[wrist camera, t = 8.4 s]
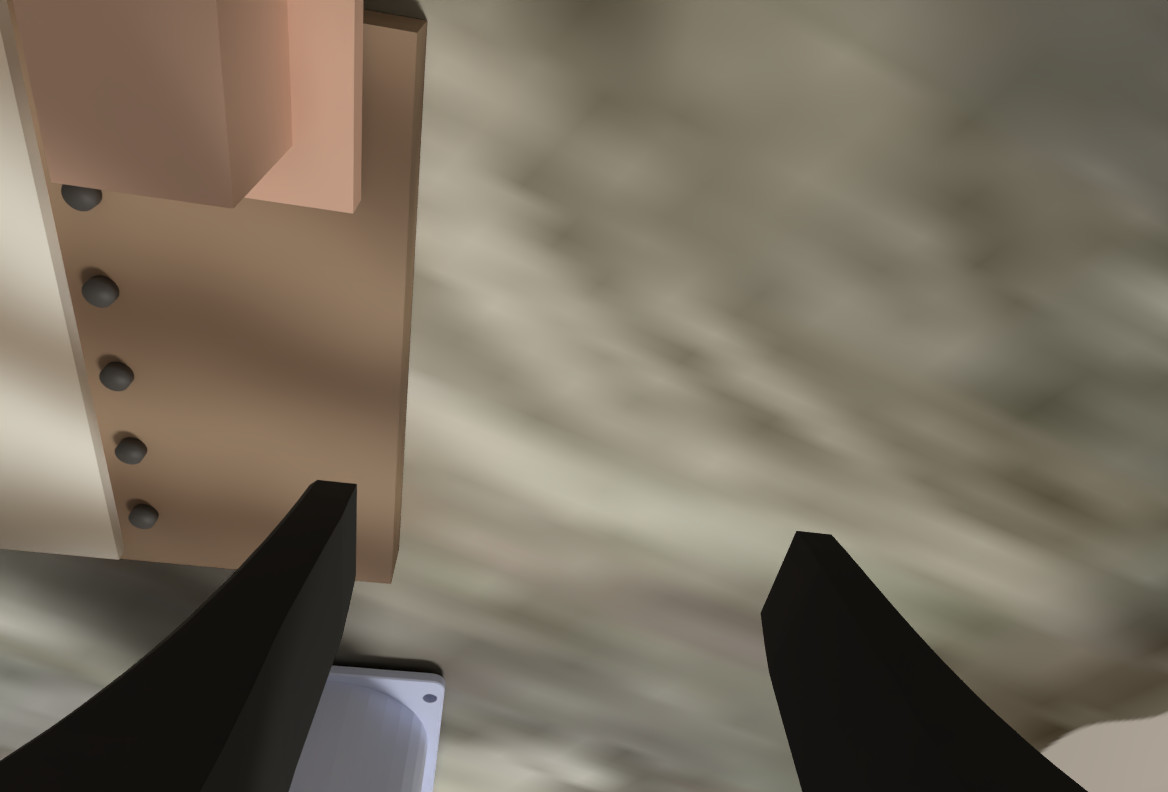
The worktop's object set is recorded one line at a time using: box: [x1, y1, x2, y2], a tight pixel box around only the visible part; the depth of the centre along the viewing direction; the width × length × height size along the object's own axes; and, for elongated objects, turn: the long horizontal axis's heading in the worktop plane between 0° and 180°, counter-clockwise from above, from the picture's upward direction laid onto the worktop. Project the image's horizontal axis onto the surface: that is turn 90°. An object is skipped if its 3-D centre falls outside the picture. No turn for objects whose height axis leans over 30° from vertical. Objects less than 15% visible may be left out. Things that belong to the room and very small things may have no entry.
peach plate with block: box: [13, 0, 363, 214], centre depth 13 cm, size 6×5×4 cm
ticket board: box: [0, 0, 427, 584], centre depth 20 cm, size 16×14×2 cm
